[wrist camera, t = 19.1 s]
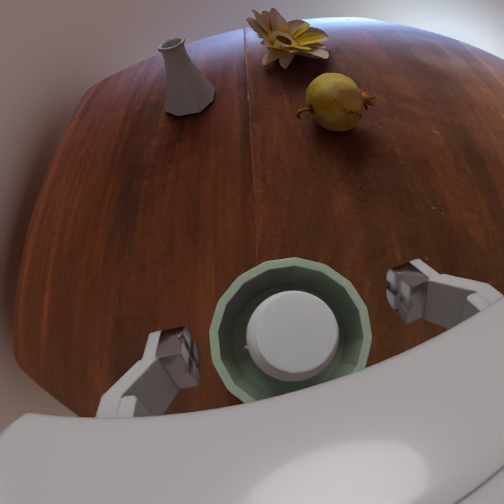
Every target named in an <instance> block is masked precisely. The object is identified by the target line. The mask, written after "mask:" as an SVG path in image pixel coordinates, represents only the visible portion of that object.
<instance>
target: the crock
mask: <svg viewBox="0 0 504 504" xmlns="http://www.w3.org/2000/svg"><path fill="white" fill-rule="evenodd" d="M284 291H302V292H306V293H309V294H312V295H314V296H316V297H318V298H319V299H321V300H322V301H323V302H324V303H326V304H327V306H328V307H329V308H330V309H331V311H332V312H333V314H334V316H335V318H336V321H337V324H338V329H339V341H338V346H337V350H336V352H335V355H334V357H333V358H332V360H331V361H330V363H329V364H328V365H327V366H326V367H325V368H324V369H323V370H322V371H321V372H320V373H318V374H317V375H315V376H313V377H311V378H308V379H305V380H301V381H282V380H279V379H276V378H273V377H271V376H269V375H267V374H266V373H264V372H263V371H262V370H261V369H260V368H259V367H258V366H257V365H256V364H255V362H254V361H253V359H252V357H251V355H250V353H249V350H248V347H247V341H246V333H247V326H248V323H249V320H250V318H251V316H252V314H253V312H254V311H255V309H256V308H257V307H258V306H259V305H260V304H261V303H262V302H263V301H264V300H266V299H267V298H269V297H270V296H272V295H275V294H277V293H280V292H284ZM209 337H210V347H211V357H212V362H213V365H214V367H215V368H216V370H217V372H218V374H219V376H220V378H221V379H222V381H223V383H224V385H225V386H226V388H227V389H228V391H229V392H231V393H232V394H233V395H235V396H236V397H237V398H238V399H240V400H241V401H242V402H244V403H249V402H254V401H259V400H263V399H267V398H271V397H276V396H280V395H283V394H287V393H291V392H295V391H298V390H302V389H305V388H309V387H312V386H315V385H318V384H322V383H325V382H328V381H331V380H334V379H337V378H340V377H343V376H345V375H348V374H351V373H354V372H356V371H359V370H362V369H364V368H365V367H366V363H367V359H368V355H369V350H370V346H371V341H372V334H371V328H370V322H369V316H368V311H367V307H366V305H365V304H364V302H363V300H362V299H361V297H360V296H359V294H358V293H357V291H356V289H355V288H354V286H353V285H352V283H351V282H350V281H349V280H347V279H346V278H344V277H343V276H342V275H340V274H339V273H337V272H336V271H334V270H333V269H332V268H330V267H329V266H327V265H325V264H322V263H318V262H314V261H309V260H305V259H301V258H295V257H294V258H287V259H280V260H273V261H266V262H263V263H262V264H260V265H258V266H256V267H254V268H253V269H251V270H249V271H247V272H245V273H244V274H242V275H240V276H238V278H237V279H236V280H235V281H234V282H233V284H232V285H231V286H230V287H229V288H228V290H227V291H226V292H225V293H224V295H223V296H222V297H221V298H220V299H219V301H218V303H217V307H216V310H215V313H214V316H213V319H212V323H211V326H210V329H209Z"/></svg>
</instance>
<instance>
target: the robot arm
mask: <svg viewBox="0 0 504 504" xmlns="http://www.w3.org/2000/svg"><path fill="white" fill-rule="evenodd" d="M386 279H387V280H388V281H389V284H388V286H387V288H386V296H387V300H388V302H389V304H390V306H391V307H392V308H393V309H394V310H398V311H399V316H400V318H401V319H402V320H403V321H404V322H405V323H406V324H409V323H412V322H414V321H417V320H419V319H421V318H423V319H425V320H427V321H430V322H432V323H434V324H436V325H439V326H441V327H443V328H445V329H448V330H447V331H445V332H443V333H442V334H440V335H438V336H436V337H434V338H432V339H430V340H428V341H426V342H424V343H422V344H420V345H418V346H416V347H414V348H412V349H410V350H407V351H405V352H403V353H401V354H398V355H396V356H394V357H392V358H389V359H387V360H384V361H382V362H380V363H377V364H375V365H372V366H370V367H367V368H364V369H362V370H359V371H356V372H354V373H351V374H348V375H345V376H343V377H340V378H337V379H334V380H331V381H328V382H325V383H322V384H318V385H315V386H312V387H309V388H305V389H302V390H298V391H295V392H291V393H287V394H283V395H280V396H276V397H271V398H267V399H263V400H259V401H254V402H249V403H244V404H239V405H234V406H229V407H223V408H217V409H211V410H204V411H197V412H190V413H181V414H172V415H163V414H164V413H165V411H166V410H167V408H168V407H169V405H170V404H171V402H172V401H173V399H174V397H175V396H176V394H177V393H178V391H179V389H184V388H190V387H195V386H199V378H200V373H199V371H198V369H197V368H198V367H199V365H200V355H199V351H198V348H197V345H196V343H195V342H194V341H192V340H190V339H191V333H190V331H189V329H188V328H187V327H186V326H183V327H178V328H173V329H167V330H162V331H157V332H152V333H150V334H149V337H148V340H147V344H146V347H145V351H144V354H143V358H142V360H139V361H138V362H137V363H136V364H135V365H134V366H133V367H132V368H131V369H130V370H129V371H127V372H126V373H125V374H124V375H123V376H122V377H121V378H120V379H119V380H118V381H117V382H116V383H115V384H114V385H113V386H112V387H111V388H110V389H109V390H108V391H107V392H106V393H105V394H104V395H103V396H102V397H101V400H100V404H99V407H98V410H97V413H96V417H95V418H88V417H68V416H67V417H66V416H54V415H44V414H37V413H26V414H24V415H22V416H21V417H19V418H18V419H17V420H15V421H14V422H13V423H12V424H11V425H10V426H8V427H7V428H6V429H5V430H4V431H3V432H2V433H1V434H0V504H504V296H503V295H502V294H501V293H500V292H498V291H497V290H496V289H494V288H493V287H492V286H491V285H489V284H487V283H483V282H478V281H474V280H469V279H465V278H460V277H455V276H451V275H446V274H441V275H440V274H438V273H437V272H436V271H434V270H433V269H432V268H431V267H429V266H428V265H427V264H425V263H424V262H423V261H421V260H420V259H415V260H412V261H410V262H407V263H405V264H403V265H400V266H397V267H394V268H392V269H389V270H388V271H387V276H386Z"/></svg>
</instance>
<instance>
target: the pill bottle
mask: <svg viewBox="0 0 504 504" xmlns="http://www.w3.org/2000/svg"><path fill="white" fill-rule="evenodd" d="M246 341H247V347H248V350H249V353H250V355H251V357H252V359H253V361H254V362H255V364H256V365H257V366H258V367H259V368H260V369H261V370H262V371H263V372H264V373H266V374H267V375H269V376H271V377H273V378H276V379H279V380H282V381H301V380H305V379H308V378H311V377H313V376H315V375H317V374H318V373H320V372H321V371H322V370H323V369H324V368H325V367H326V366H327V365H328V364H329V363H330V361H331V360H332V358H333V357H334V355H335V352H336V350H337V346H338V341H339V329H338V324H337V321H336V318H335V316H334V314H333V312H332V311H331V309H330V308H329V307H328V306H327V304H326V303H324V302H323V301H322V300H321V299H319V298H318V297H316V296H314V295H312V294H309V293H306V292H302V291H284V292H280V293H277V294H275V295H272V296H270V297H269V298H267V299H266V300H264V301H263V302H262V303H261V304H260V305H259V306H258V307H257V308H256V309H255V311H254V312H253V314H252V316H251V318H250V320H249V323H248V326H247V333H246Z"/></svg>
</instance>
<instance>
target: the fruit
mask: <svg viewBox="0 0 504 504" xmlns="http://www.w3.org/2000/svg"><path fill="white" fill-rule="evenodd" d="M368 92H369V87H367V89H366V90H365V91H364V92H363V90H362V89H361V91H360V90H359V88H358V86H357V85H356V84H355V83H354V81H352V80H351V79H350V78H348V77H347V76H345V75H342V74H339V73H325V74H322V75H320V76H318V77H317V78H315V79H314V80H313V81H312V82H311V83H310V84H309V86H308V88H307V90H306V93H305V102H306V106H307V108H301V109H300V110H298V111H297V113H296V117H297V118H298V119H300V113H301V112H303V111H310V113H311V114H312V116H313V118H314V119H315V121H316V122H317V123H318V124H319V125H320V126H322V127H324V128H325V129H328V130H331V131H347V130H350V129H351V128H353V127H354V126H355V125H356V124H357V123H358V121H359V120H360V118H361V116H362V113H363V105H364V106H365V109H366V111H367V109H368V107H367V106H366V105H372V106H374V105H373V103H372V102H370V100H372V99H373V98H375V97H374V96H371V95H367V93H368ZM361 93H362V94H361Z"/></svg>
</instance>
